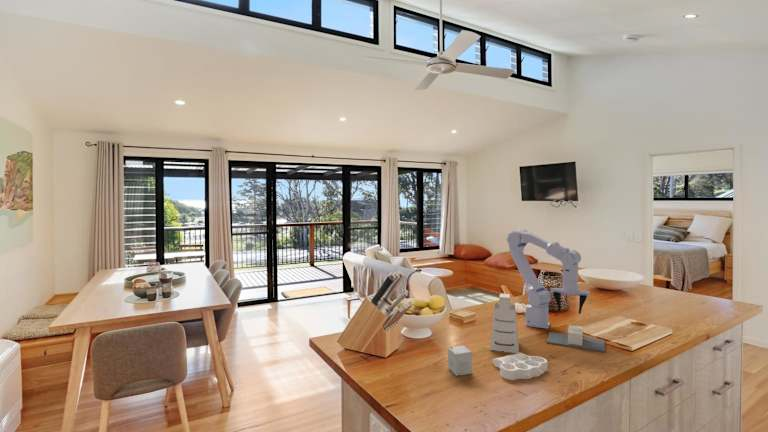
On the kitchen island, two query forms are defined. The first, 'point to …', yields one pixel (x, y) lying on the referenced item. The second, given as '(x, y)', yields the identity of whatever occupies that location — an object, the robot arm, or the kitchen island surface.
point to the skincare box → (460, 360)
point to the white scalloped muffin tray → (520, 366)
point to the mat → (586, 344)
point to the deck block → (575, 335)
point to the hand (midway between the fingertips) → (569, 311)
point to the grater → (504, 326)
